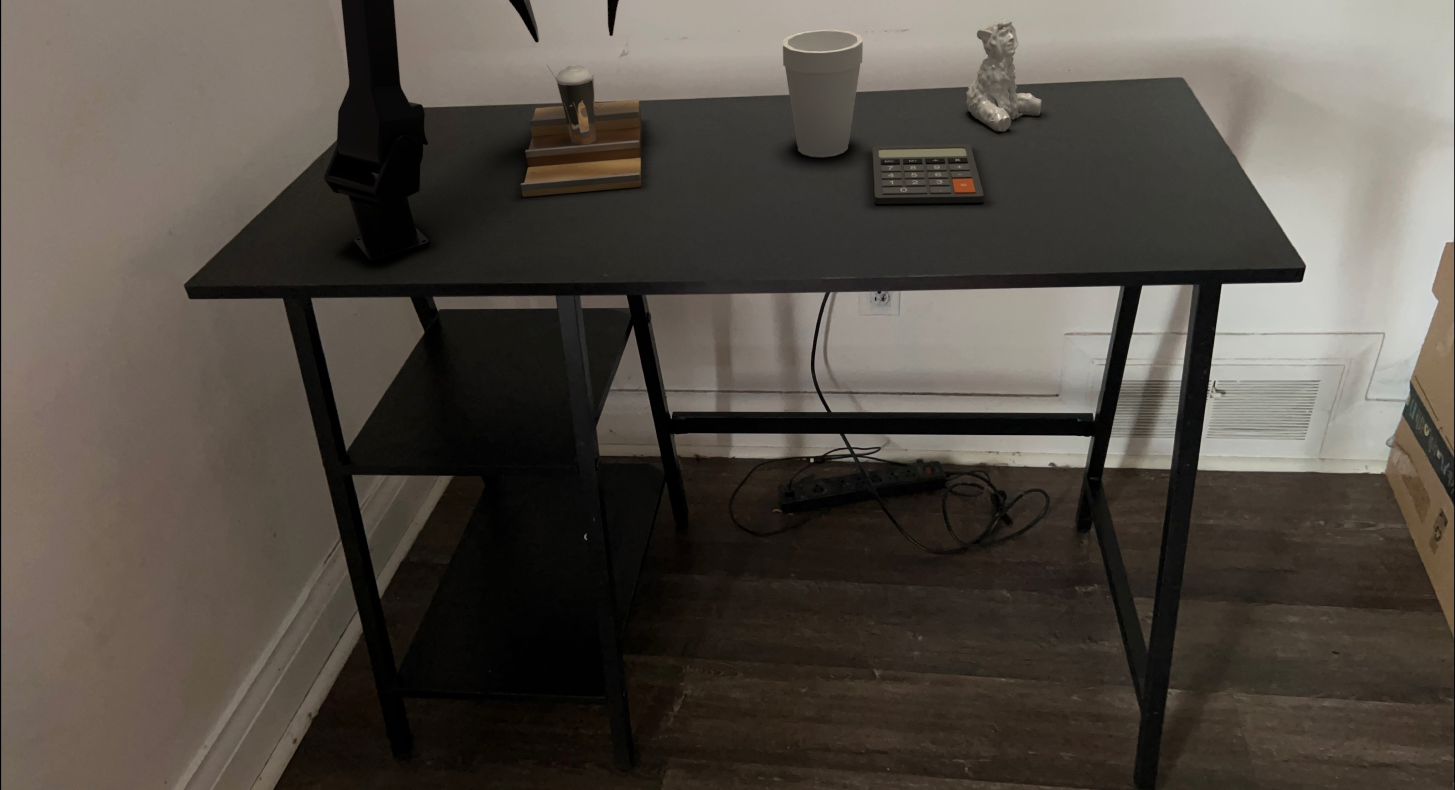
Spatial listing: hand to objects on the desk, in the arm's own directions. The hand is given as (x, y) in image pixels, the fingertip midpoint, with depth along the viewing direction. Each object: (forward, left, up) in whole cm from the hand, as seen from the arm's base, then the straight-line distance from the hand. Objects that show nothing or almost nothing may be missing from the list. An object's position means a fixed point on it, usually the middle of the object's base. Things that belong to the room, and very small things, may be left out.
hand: (574, 38), depth 118 cm
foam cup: (-23, -21, -14) cm, 34 cm away
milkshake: (-4, +3, -12) cm, 13 cm away
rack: (-5, +3, -13) cm, 14 cm away
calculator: (-38, -24, -13) cm, 47 cm away
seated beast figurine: (-30, -44, -14) cm, 55 cm away
